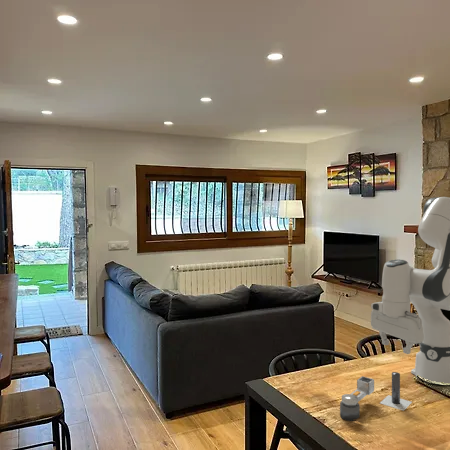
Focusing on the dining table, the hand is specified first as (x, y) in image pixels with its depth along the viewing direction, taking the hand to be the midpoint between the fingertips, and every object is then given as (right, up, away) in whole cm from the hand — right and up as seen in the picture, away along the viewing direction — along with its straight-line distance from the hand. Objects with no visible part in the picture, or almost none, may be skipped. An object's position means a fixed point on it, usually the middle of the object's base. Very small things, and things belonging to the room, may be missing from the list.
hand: (395, 348), depth 140 cm
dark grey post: (0, -19, +1) cm, 19 cm away
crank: (-14, -15, -3) cm, 21 cm away
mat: (0, -19, +1) cm, 19 cm away
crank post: (-18, -20, -7) cm, 27 cm away
